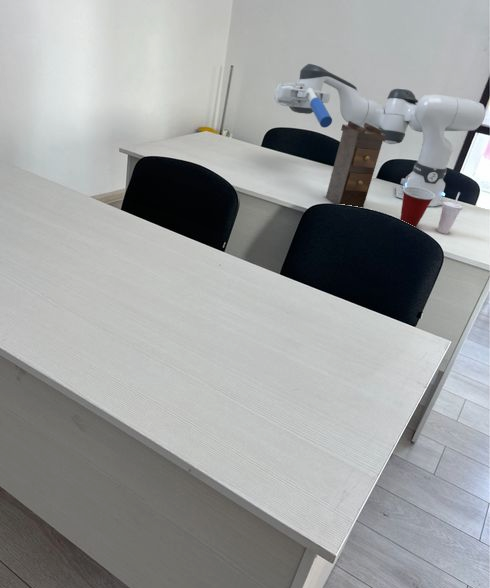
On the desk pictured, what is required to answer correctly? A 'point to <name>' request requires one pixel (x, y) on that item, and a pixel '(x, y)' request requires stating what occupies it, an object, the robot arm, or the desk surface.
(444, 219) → the smoothie
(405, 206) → the plastic cup
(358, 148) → the bedside cabinet
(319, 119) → the bottle
